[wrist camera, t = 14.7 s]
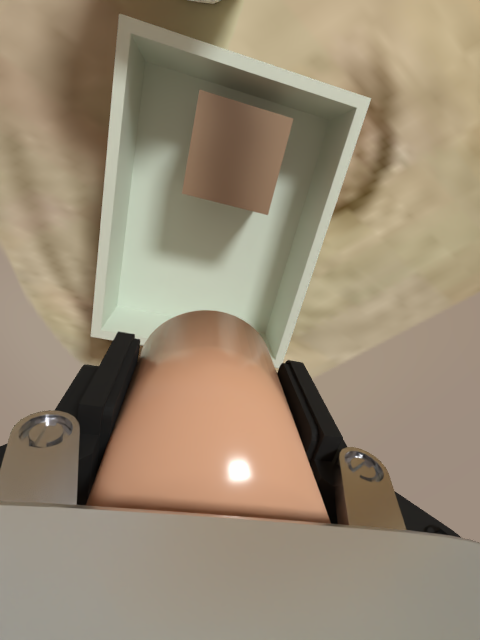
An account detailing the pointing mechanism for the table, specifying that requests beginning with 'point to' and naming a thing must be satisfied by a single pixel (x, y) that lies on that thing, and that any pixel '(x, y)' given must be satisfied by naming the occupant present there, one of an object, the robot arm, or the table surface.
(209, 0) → the white cup
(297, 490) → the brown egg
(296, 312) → the tote
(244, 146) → the cube
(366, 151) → the table surface
